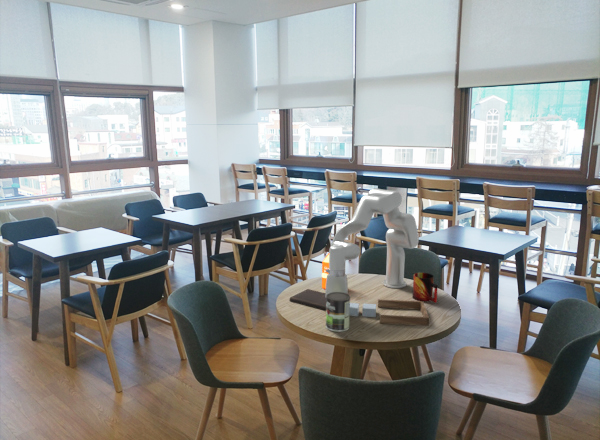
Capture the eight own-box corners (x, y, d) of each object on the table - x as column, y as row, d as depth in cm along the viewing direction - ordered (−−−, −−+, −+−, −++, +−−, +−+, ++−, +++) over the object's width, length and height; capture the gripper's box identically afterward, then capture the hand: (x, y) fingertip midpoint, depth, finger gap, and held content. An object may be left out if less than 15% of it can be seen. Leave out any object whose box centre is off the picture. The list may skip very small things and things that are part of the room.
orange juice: (342, 286, 255) (342, 250, 251) (334, 290, 248) (334, 254, 244) (329, 283, 259) (329, 248, 255) (321, 288, 252) (321, 252, 248)
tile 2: (362, 311, 221) (363, 303, 220) (375, 312, 220) (376, 304, 219) (362, 316, 215) (362, 308, 214) (375, 317, 214) (375, 309, 213)
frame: (377, 306, 226) (378, 299, 226) (422, 308, 224) (422, 301, 223) (380, 323, 207) (380, 315, 206) (428, 325, 205) (429, 318, 204)
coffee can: (334, 333, 196) (334, 302, 194) (321, 324, 205) (321, 294, 202) (354, 328, 201) (355, 297, 199) (340, 320, 210) (341, 290, 207)
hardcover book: (307, 293, 246) (307, 288, 245) (345, 302, 233) (346, 298, 232) (289, 302, 233) (289, 297, 233) (328, 312, 220) (328, 308, 220)
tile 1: (346, 310, 222) (346, 302, 221) (358, 311, 220) (359, 303, 220) (344, 315, 216) (344, 307, 215) (357, 316, 215) (357, 308, 214)
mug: (435, 305, 228) (437, 281, 226) (409, 298, 237) (410, 276, 234) (443, 299, 236) (444, 276, 233) (417, 293, 244) (418, 271, 242)
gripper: (320, 274, 212) (319, 312, 216) (353, 275, 211) (352, 313, 214) (321, 269, 220) (320, 306, 223) (353, 270, 218) (352, 307, 222)
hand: (336, 309), depth 219 cm, fingers closed
